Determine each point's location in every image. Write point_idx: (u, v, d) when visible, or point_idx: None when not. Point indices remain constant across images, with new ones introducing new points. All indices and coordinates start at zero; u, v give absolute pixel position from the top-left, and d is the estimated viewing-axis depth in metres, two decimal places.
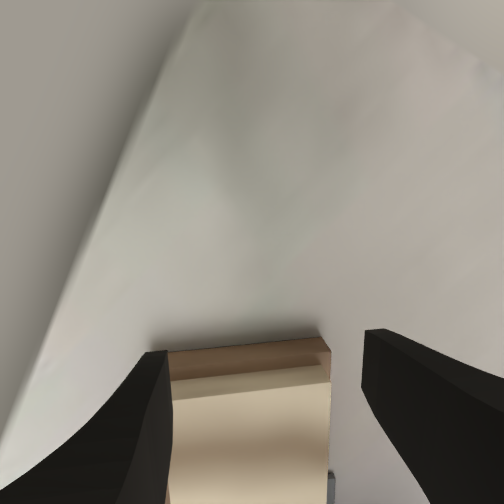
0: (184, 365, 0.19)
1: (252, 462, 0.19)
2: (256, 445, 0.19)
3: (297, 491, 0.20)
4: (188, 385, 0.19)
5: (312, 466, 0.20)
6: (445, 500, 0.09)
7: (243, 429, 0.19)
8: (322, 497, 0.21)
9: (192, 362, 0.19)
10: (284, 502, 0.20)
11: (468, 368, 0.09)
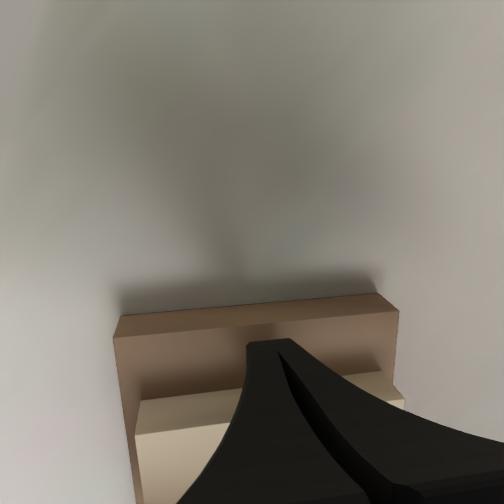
0: (169, 330, 0.12)
1: None
2: None
3: None
4: (182, 405, 0.12)
5: None
6: None
7: None
8: None
9: (182, 326, 0.12)
10: None
11: (344, 383, 0.08)
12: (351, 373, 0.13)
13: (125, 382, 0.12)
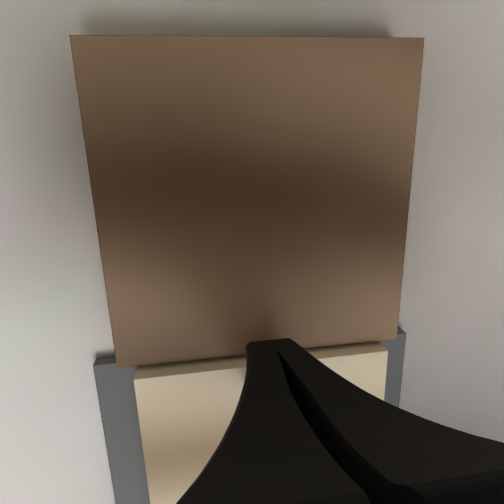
0: (141, 37, 0.10)
1: None
2: None
3: None
4: None
5: None
6: None
7: None
8: None
9: None
10: None
11: (344, 383, 0.08)
12: (365, 124, 0.11)
13: (87, 104, 0.10)
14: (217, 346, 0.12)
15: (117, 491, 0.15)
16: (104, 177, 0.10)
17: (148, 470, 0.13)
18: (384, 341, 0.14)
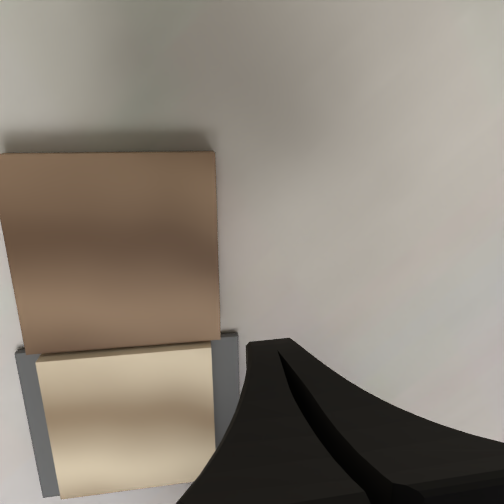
0: (34, 154, 0.16)
1: (136, 426, 0.20)
2: (139, 409, 0.20)
3: (185, 457, 0.21)
4: None
5: (198, 432, 0.20)
6: None
7: (124, 392, 0.19)
8: None
9: (45, 154, 0.16)
10: (172, 469, 0.21)
11: (344, 383, 0.08)
12: (182, 203, 0.17)
13: (0, 193, 0.16)
14: (93, 342, 0.19)
15: (34, 443, 0.21)
16: (13, 235, 0.17)
17: (48, 424, 0.19)
18: (222, 341, 0.21)
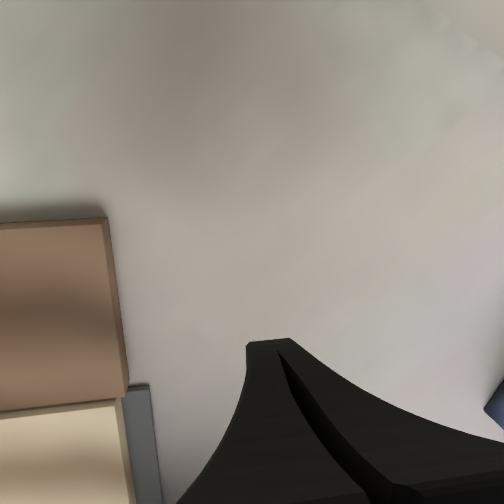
0: None
1: (46, 482, 0.20)
2: (47, 465, 0.20)
3: None
4: None
5: (110, 485, 0.21)
6: None
7: (30, 451, 0.20)
8: None
9: None
10: None
11: (344, 383, 0.08)
12: (73, 272, 0.18)
13: None
14: None
15: None
16: None
17: None
18: (133, 395, 0.21)
